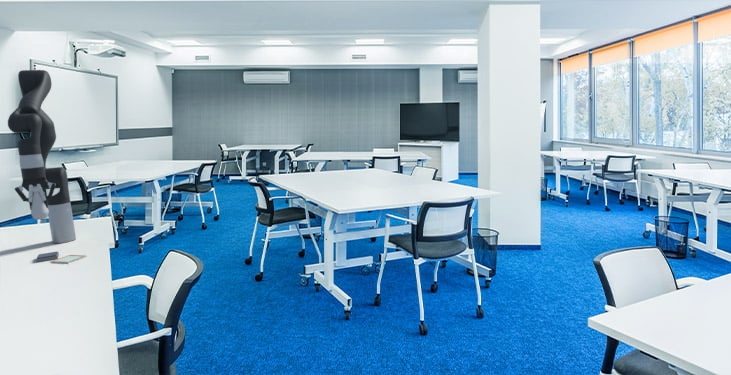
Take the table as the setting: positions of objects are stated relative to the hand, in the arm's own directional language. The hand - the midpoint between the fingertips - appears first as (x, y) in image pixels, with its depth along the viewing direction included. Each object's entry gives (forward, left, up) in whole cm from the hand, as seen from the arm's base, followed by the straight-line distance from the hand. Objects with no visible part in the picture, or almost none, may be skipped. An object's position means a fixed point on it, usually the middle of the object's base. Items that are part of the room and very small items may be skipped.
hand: (39, 210), depth 191 cm
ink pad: (0, 0, -19) cm, 19 cm away
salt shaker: (0, 0, -3) cm, 3 cm away
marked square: (+8, +8, -19) cm, 22 cm away
